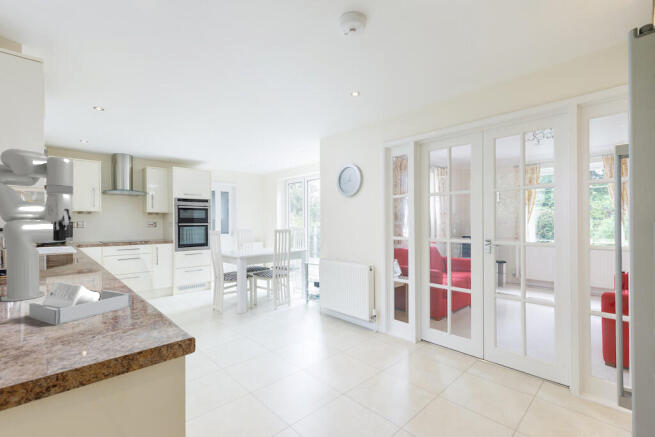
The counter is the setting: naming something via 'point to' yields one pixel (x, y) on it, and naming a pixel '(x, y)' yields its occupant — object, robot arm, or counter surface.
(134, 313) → the counter surface
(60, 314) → the tray
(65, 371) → the counter surface
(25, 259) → the robot arm
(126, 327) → the counter surface
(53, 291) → the container
